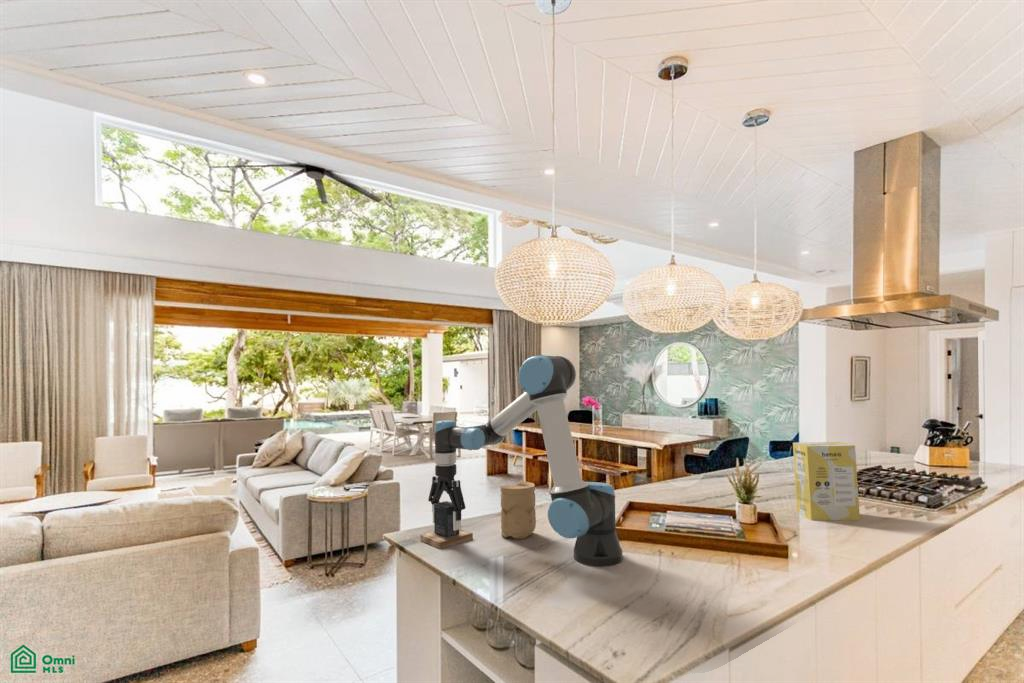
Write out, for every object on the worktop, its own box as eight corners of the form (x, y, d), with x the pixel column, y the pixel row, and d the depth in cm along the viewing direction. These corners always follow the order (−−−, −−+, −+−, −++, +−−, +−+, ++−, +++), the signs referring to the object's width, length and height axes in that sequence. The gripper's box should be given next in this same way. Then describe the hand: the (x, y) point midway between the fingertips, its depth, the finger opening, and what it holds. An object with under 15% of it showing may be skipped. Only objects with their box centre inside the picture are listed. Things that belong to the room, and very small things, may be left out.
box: (459, 534, 177) (459, 504, 178) (446, 538, 174) (445, 507, 174) (447, 529, 183) (446, 500, 184) (433, 533, 179) (433, 503, 180)
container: (494, 535, 182) (493, 485, 183) (519, 528, 190) (518, 479, 192) (517, 543, 173) (516, 490, 174) (543, 535, 181) (542, 484, 182)
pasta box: (842, 512, 203) (838, 441, 204) (859, 519, 192) (855, 445, 194) (796, 512, 203) (792, 442, 205) (811, 520, 193) (806, 446, 195)
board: (472, 539, 179) (472, 532, 179) (440, 548, 169) (439, 542, 169) (452, 531, 187) (452, 526, 188) (420, 540, 178) (420, 534, 178)
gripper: (475, 466, 174) (476, 530, 172) (435, 459, 191) (436, 517, 190) (457, 469, 169) (458, 535, 167) (418, 461, 186) (418, 521, 185)
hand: (446, 526), depth 179 cm, fingers open, 12 cm apart
